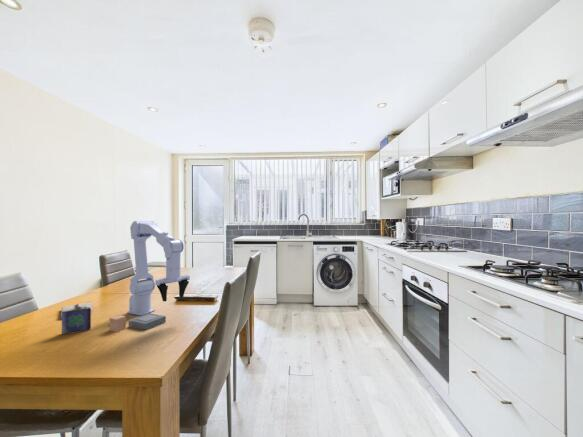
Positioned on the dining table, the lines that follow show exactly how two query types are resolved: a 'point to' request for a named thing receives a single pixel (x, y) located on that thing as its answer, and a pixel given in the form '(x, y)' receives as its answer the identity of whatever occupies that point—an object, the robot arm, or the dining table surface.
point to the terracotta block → (117, 323)
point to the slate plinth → (147, 321)
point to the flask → (76, 319)
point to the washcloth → (78, 305)
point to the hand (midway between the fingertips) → (173, 299)
